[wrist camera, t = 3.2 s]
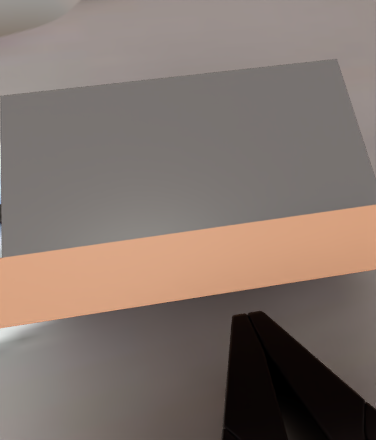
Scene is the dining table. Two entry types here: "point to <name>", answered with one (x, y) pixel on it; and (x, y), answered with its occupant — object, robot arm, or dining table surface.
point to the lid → (185, 265)
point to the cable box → (178, 155)
